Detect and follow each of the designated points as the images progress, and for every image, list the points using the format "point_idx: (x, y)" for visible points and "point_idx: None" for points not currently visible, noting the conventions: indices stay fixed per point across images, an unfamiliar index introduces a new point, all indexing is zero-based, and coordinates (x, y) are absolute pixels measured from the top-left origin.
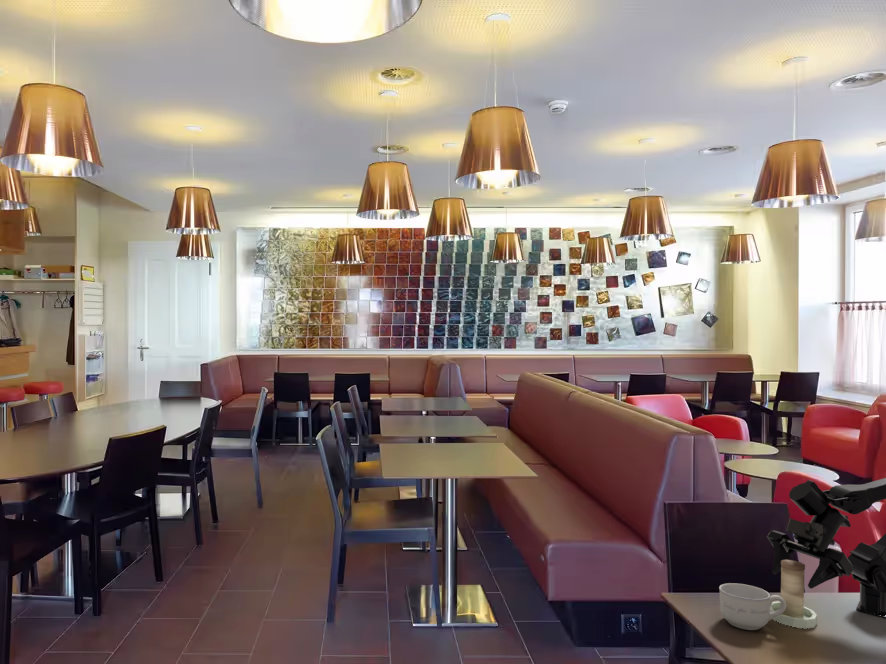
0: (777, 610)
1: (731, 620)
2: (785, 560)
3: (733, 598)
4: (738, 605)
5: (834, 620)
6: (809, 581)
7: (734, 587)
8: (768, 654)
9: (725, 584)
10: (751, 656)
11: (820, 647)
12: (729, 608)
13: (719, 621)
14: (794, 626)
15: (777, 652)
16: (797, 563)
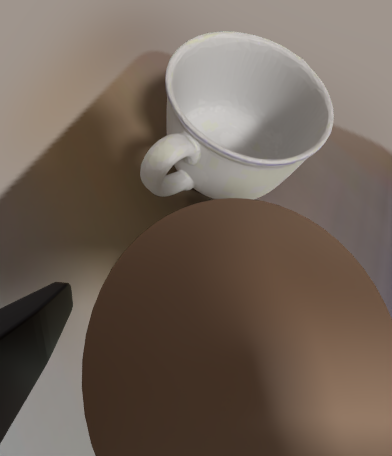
0: (167, 181)
1: (223, 108)
2: (377, 360)
3: (231, 42)
4: (213, 61)
5: None
6: (48, 299)
7: (314, 137)
8: (111, 92)
9: (327, 103)
10: (126, 67)
11: (47, 209)
12: (234, 78)
13: None
14: None
15: (104, 111)
16: (223, 420)
